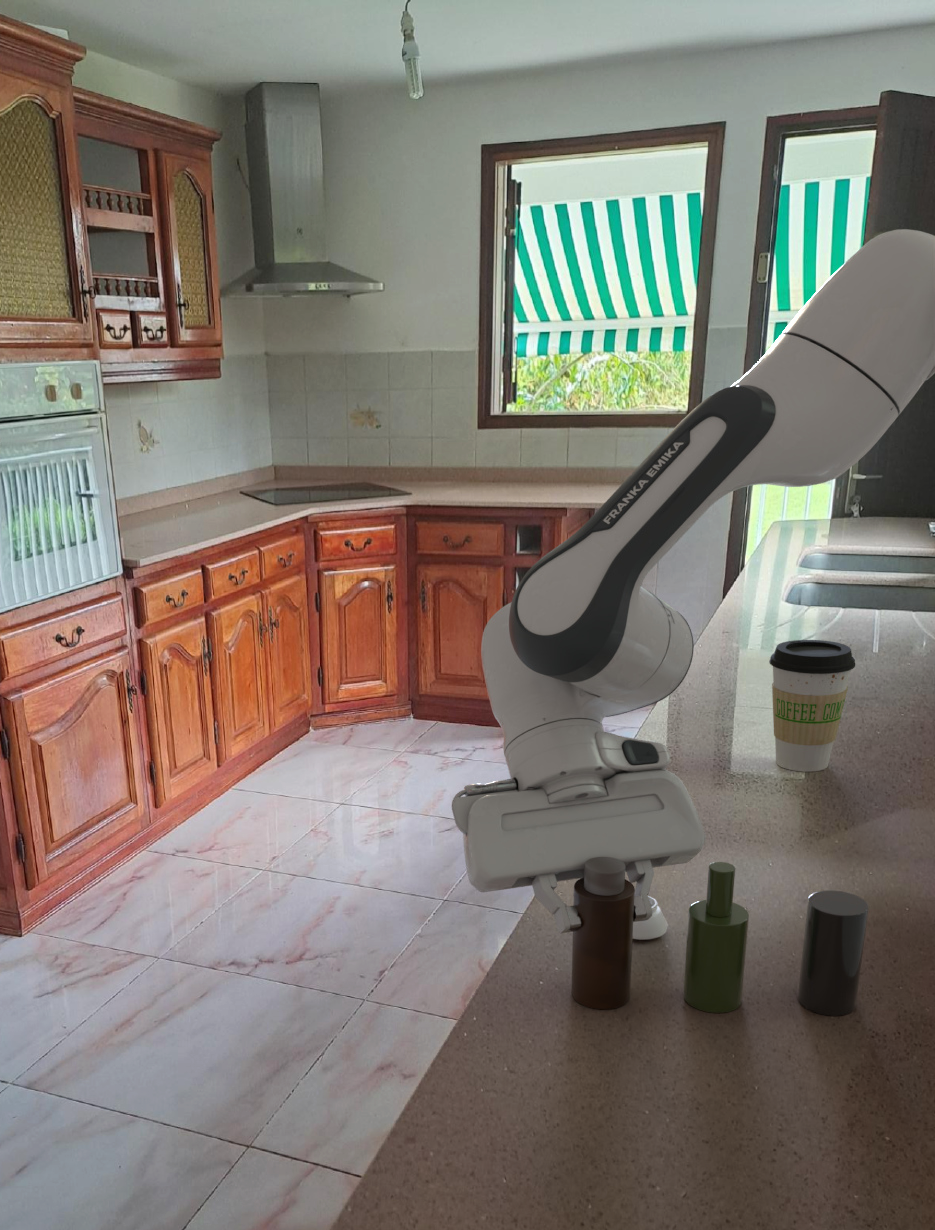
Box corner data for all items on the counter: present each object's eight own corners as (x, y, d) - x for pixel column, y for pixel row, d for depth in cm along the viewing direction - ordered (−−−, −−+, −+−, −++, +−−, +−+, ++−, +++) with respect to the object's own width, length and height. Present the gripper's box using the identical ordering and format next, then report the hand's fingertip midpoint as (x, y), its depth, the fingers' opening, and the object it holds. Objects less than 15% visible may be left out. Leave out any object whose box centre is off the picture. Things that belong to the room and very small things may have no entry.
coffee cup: (790, 781, 137) (802, 661, 131) (745, 756, 146) (754, 643, 140) (861, 770, 139) (875, 652, 133) (812, 746, 148) (823, 635, 142)
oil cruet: (735, 984, 95) (746, 855, 90) (746, 1014, 90) (758, 879, 86) (679, 982, 95) (687, 854, 91) (687, 1012, 91) (696, 879, 87)
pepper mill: (614, 975, 97) (619, 849, 92) (639, 1004, 92) (646, 872, 88) (562, 984, 96) (565, 856, 92) (585, 1013, 92) (589, 881, 87)
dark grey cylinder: (847, 987, 93) (859, 890, 90) (862, 1016, 89) (875, 916, 86) (792, 986, 94) (802, 889, 91) (804, 1015, 90) (815, 915, 86)
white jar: (661, 947, 101) (670, 922, 105) (663, 917, 100) (672, 894, 104) (606, 938, 103) (617, 914, 107) (607, 909, 102) (618, 886, 106)
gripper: (454, 771, 92) (494, 931, 86) (684, 742, 95) (736, 894, 90) (439, 802, 98) (476, 954, 92) (657, 774, 101) (704, 919, 96)
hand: (606, 924), depth 91 cm, fingers closed on pepper mill, 5 cm apart
